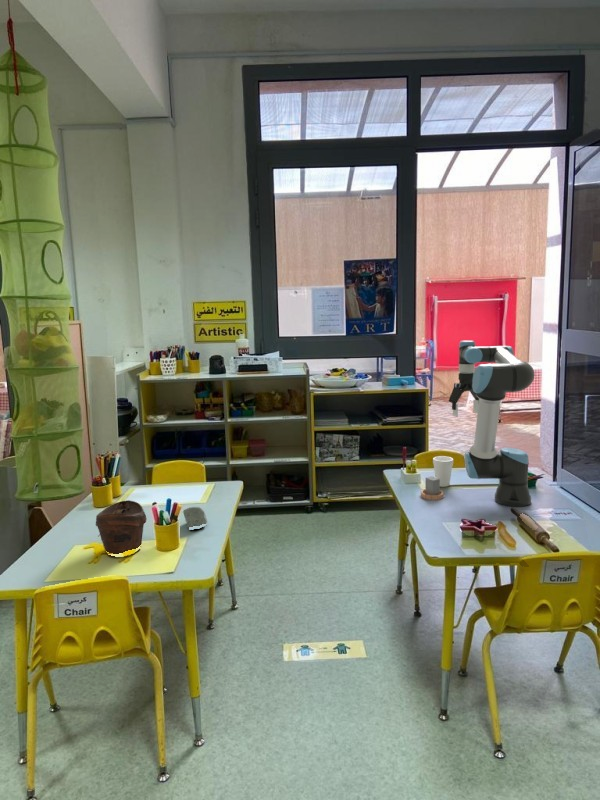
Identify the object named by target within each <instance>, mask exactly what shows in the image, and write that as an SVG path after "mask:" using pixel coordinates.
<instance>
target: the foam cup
mask: <svg viewBox="0 0 600 800" xmlns="http://www.w3.org/2000/svg"><path fill="white" fill-rule="evenodd" d="M432 464H433V470H434V471H433V472H434V477H436V478H438V479H440V487H441V488H442V487H443V488H444V487H445V488H446V487H450V483H451V480H452V479H451V478H452V471H453V465H454V458H453V457H451V456H448V455H447V456H445V455H438V456H434V457H433V458H432Z"/></svg>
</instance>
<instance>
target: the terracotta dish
mask: <svg viewBox="0 0 600 800" xmlns="http://www.w3.org/2000/svg"><path fill="white" fill-rule="evenodd" d="M444 496H445V493H444V491H443V490H441V489H440V494H439V495H427V494H425V488H423V489H421V490H420V497H421V498H422V499H424V500H428V501H438V500H439V501H440V500H443V498H444Z"/></svg>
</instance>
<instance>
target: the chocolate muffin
mask: <svg viewBox="0 0 600 800" xmlns="http://www.w3.org/2000/svg"><path fill="white" fill-rule="evenodd" d="M147 520H148V519H147V514H146V513H145V510H144V508H143V506H142V505H141V503H139V502H137V501H134V500H129V499H128V500H121V501H118V502H116V503H113V504H111V505H109V506H107V507H106V508H104V509H103V510H102V511H100V512H99V513H98V514H96V518H95V526H96V527H97V529H98V533H99V535H97V538H99V537H100V540H101V542H102V546H103V548H104V551H105V550H106V551H107V552H109V553H113V554H119V553H123V552H125V551H128V550H132V549H136V548H138V547H139V546H140V545H141V544H142V545H143V543H142V542H143V534H144V533H143V532H144V525H145V524H146V523H147ZM106 556H107V557H109V558H114V559H117V558H116V557H115V556H111V555H108V554H106Z"/></svg>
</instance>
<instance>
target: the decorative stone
mask: <svg viewBox="0 0 600 800" xmlns="http://www.w3.org/2000/svg"><path fill="white" fill-rule="evenodd" d="M182 513H183V515H184V519H185V522H186V527H187V528H188V527H193V526H200V525H202V524H206V523H207V524H208V519H207V515H206V512H205V509H204V508H202V507H200V506H192V507H187V508H186V509H183V512H182Z"/></svg>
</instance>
